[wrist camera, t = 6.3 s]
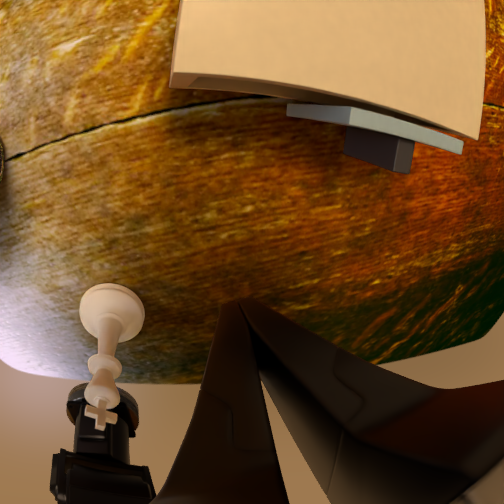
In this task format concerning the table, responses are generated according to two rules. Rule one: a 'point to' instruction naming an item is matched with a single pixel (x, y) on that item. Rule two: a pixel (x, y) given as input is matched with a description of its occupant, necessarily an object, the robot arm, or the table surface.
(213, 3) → the box
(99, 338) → the chess piece
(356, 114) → the closet door
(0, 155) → the beverage can
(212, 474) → the robot arm
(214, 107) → the table surface
